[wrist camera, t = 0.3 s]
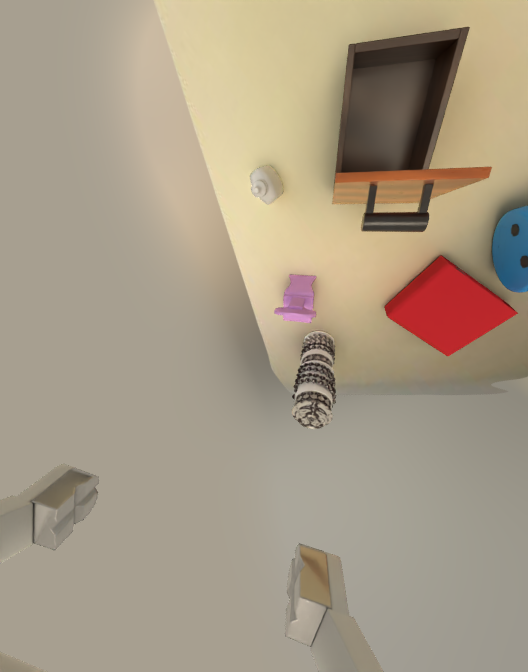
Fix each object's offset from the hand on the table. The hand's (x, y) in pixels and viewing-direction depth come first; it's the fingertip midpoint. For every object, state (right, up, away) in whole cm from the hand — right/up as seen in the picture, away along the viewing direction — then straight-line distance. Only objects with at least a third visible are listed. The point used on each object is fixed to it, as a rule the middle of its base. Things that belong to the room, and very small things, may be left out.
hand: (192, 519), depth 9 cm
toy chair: (+12, +18, +50) cm, 55 cm away
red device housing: (+41, +14, +44) cm, 62 cm away
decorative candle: (+18, +5, +58) cm, 61 cm away
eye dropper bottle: (+4, +37, +38) cm, 53 cm away
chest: (+21, +40, +30) cm, 55 cm away
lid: (+18, +25, +20) cm, 37 cm away
